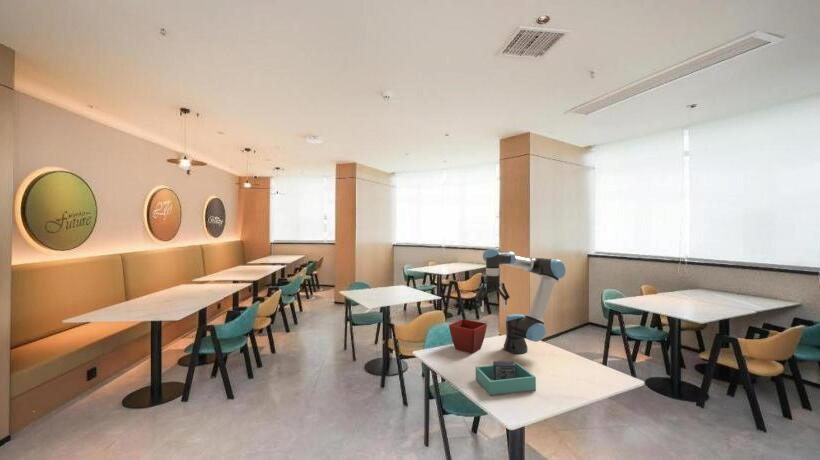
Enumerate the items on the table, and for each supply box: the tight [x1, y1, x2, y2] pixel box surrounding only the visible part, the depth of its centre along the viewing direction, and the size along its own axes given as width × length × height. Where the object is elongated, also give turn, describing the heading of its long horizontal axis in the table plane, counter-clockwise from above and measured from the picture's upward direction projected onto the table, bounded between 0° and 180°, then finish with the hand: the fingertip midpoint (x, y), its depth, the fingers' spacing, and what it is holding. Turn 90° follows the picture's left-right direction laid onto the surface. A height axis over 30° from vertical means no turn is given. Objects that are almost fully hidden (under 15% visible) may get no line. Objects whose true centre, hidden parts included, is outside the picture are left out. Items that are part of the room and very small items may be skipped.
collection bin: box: [475, 362, 537, 397], centre depth 169 cm, size 24×18×7 cm
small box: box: [492, 360, 516, 380], centre depth 169 cm, size 11×6×10 cm, turn 85°
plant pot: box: [448, 318, 488, 354], centre depth 221 cm, size 19×19×17 cm
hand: (493, 311), depth 195 cm, fingers open, 13 cm apart
